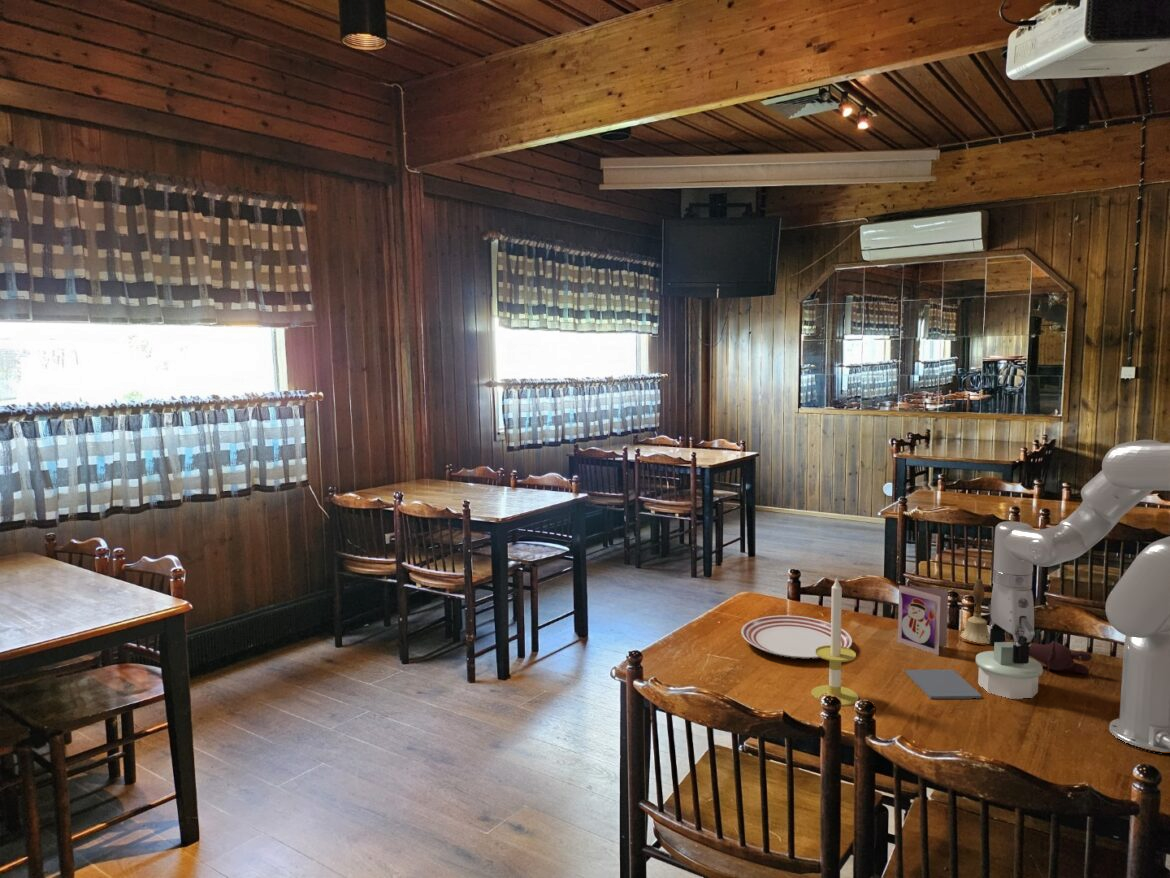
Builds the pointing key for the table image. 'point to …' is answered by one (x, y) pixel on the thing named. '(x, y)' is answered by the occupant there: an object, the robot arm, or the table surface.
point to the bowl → (1007, 685)
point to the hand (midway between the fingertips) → (1008, 654)
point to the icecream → (1059, 657)
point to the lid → (1007, 663)
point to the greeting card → (923, 617)
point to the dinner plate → (791, 635)
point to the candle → (836, 654)
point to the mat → (943, 684)
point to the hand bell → (977, 618)
